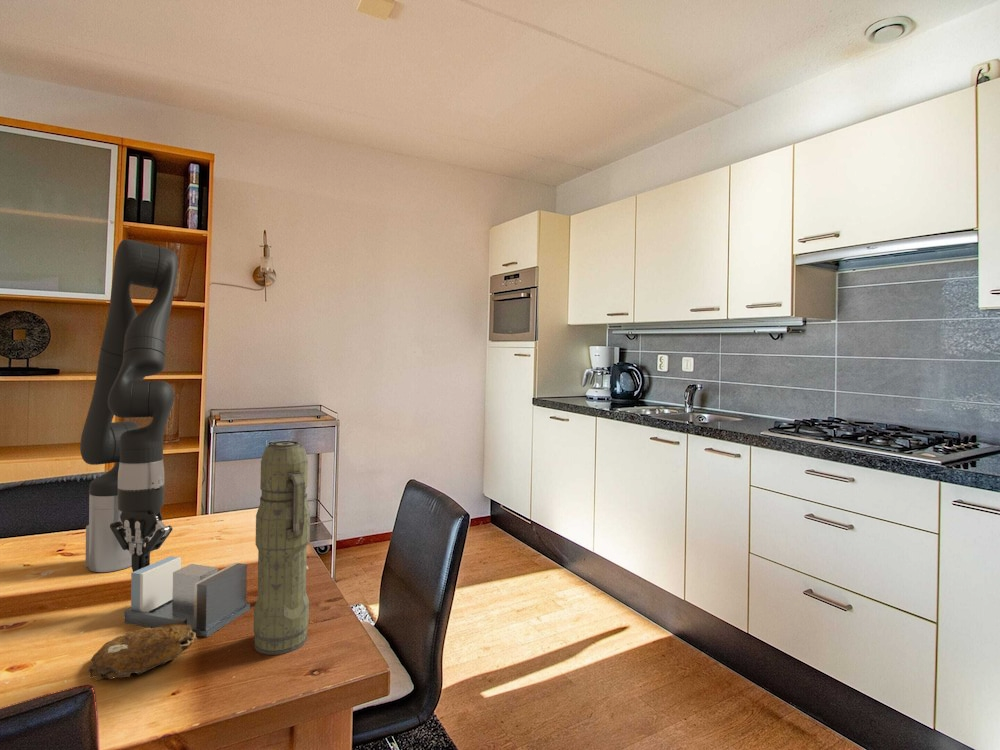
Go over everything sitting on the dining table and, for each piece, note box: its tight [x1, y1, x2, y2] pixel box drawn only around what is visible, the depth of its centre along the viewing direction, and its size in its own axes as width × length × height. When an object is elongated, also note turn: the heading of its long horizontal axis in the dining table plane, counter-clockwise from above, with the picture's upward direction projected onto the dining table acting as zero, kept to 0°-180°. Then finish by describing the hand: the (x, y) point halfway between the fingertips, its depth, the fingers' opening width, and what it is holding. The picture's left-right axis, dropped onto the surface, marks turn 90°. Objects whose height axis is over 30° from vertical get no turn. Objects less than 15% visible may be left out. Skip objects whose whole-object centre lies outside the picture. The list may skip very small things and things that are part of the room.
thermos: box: [253, 440, 311, 656], centre depth 94 cm, size 9×12×35 cm
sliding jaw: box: [130, 555, 182, 612], centre depth 104 cm, size 3×9×8 cm, turn 167°
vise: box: [123, 562, 251, 638], centre depth 103 cm, size 18×11×9 cm, turn 77°
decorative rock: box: [88, 622, 198, 681], centre depth 89 cm, size 11×4×15 cm
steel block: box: [172, 563, 219, 618], centre depth 102 cm, size 6×4×8 cm
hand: (140, 572), depth 105 cm, fingers closed
